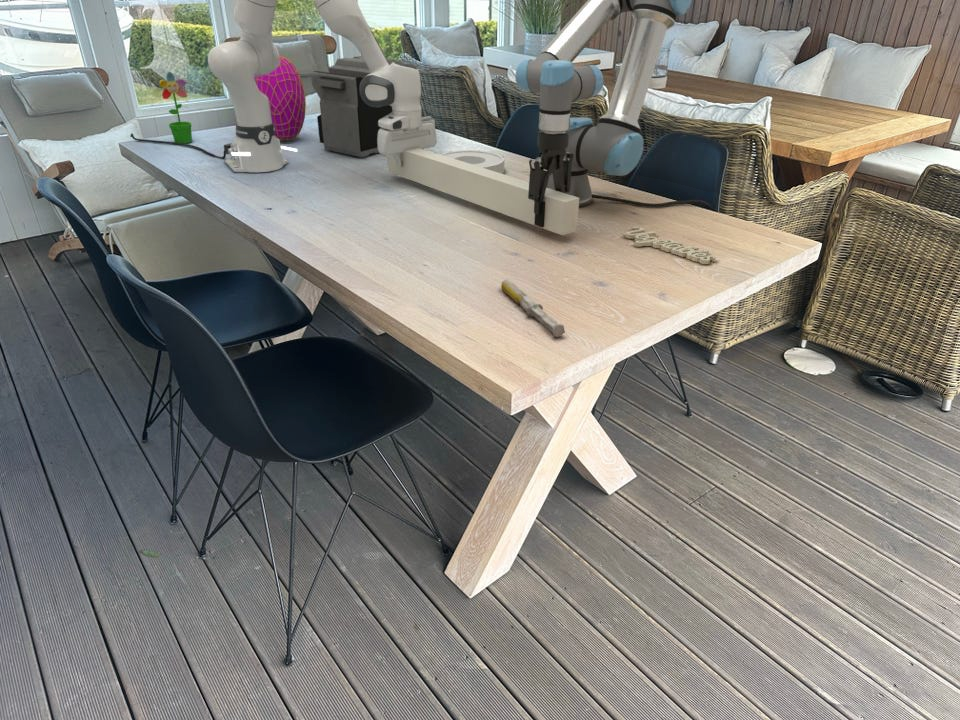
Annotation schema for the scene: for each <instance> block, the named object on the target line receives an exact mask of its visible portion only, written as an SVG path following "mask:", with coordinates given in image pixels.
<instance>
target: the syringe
mask: <svg viewBox="0 0 960 720" xmlns="http://www.w3.org/2000/svg"><path fill="white" fill-rule="evenodd" d="M500 287H501V290H502V291H503V292H504V293H505V294H506V295H507V296H508V297H510V298H511V299H512V300H513V301H514V302H515V303H516V304H517V305H518V306H520V308H521V309H523V311H524V312H525V314H526V316H527V317H528V318H531V317H532V318H533V317H534V318H535V319H536V320H537V321H538V322H540V323H541V324H542V325H543V326H544V327H546V329H547V330H548V331H549V332H550V333H552V334H553V337H554V338H559V337H561V336H563V334H565V333H566V330H565V325H564V324H562V323H558V322H557V321H556V320H555V319H554V318H553V317H552V316H550V315H549V314H548V313H546V312H545V311H544V307H543V305H542V304H541V303H537V302H535V301H534V299H532V298H531V297H530V296H528V294H526V293H525V292H524V291H523V290H521V289H520V288H519V287H517V286H516V284H515V283H514V282H513V281H512V280H511V279H504V280H502V281H501V285H500Z"/></svg>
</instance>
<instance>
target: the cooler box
mask: <svg viewBox="0 0 960 720" xmlns="http://www.w3.org/2000/svg"><path fill="white" fill-rule="evenodd" d="M387 60H388V61H389V63H390V64H392V63H393V62H394V61H395V60H394V59H393V58H387ZM369 74H371V73H370V70H369V68H368V66H367V65H366V63H365V61H364V59H363V57H362V56H361V55H356V56H353V57H350V58H349V57H343V58H342V57H341V58H337V59H336V60H335V63H334V64H333V65H330V66H329V67H328V72H327V71H320V70H314V71H313V70H312V71H310V79H311V87H313V90H314V91H315V93H316V94H317V96H318V98H319V110H320V111H319V112H320V114H319V115H317V116H316V119H317V128H318V138H319V143H320V144H323V146H324V149H325V150H327V151H330V152H335V153H340V154H344V155H348V156H353V157H357V158H362V159H363V158H366V157H367V158H368V157H369V155H371V154H375V155H377V154H381V153H380V152H379V151H378V144H377V138H378V131H379V129H380V128H381V127H379V125H378V121H379V120H380V119H381V118H383V117H385V116H387V115H388V114H390V113H392V106H390V105H387V106H382V107H371V106H369V105H367V104H366V103H365V102H364V101H363V100H362V98H361V96H360V92H359V86H360V83H361V81H362V79H363V78H364V77H365V76H367V75H369Z"/></svg>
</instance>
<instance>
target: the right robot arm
mask: <svg viewBox="0 0 960 720" xmlns="http://www.w3.org/2000/svg"><path fill="white" fill-rule="evenodd" d="M691 4H692V0H587V1H586V2H584V4H583V5H582V6H581V7H580V8H579V10H577V12H576V13H575V14H574V15H573V16H572V17H571V18H570V20H569V21H568V22H567V23H566V24H565V25H564V26H563V27H562V29H561V30H560V31H559V32H558V33H556V35H555V36H554V37H553V39H551V41H550V42H549V43H548V44H547V45H546V46H545V48H544V49H543V50H542V51H541V52H540V53H539V54H538V55H537V56H536V57H535V59H532V58H529V59H523V60H522V61H520V62H519V63H518V65H517V67H516V69H515V83H516V86H517V87H518V89H520V90H521V91H524V92H528V93H531V94H539V108H538V123H537V125H538V127H537V128H538V129H539V131H537V142H536V146H537V147H538V154H537V157H536V158H534V159H532V158H531V159H529V160H528V163H529V180H528V182H529V192H528V199H531V200H534V213H535V223H534V225H533V226H535V225H537V226H536V227H538V226H539V227H538V228H541V227H544V218H545V202H544V201H543V199H544V195H545V191H546V188H549V189H552V190H556V191H559V192H562V193H565V194H569V195H572V196H575V197H578V198H579V208H580V207H584V206H588V205H589V204H591V203H592V199H598V200H604V201H611V202H617V203H624V204H629V205H633V206H639V207H649V208H662V207H663V208H664V207H669V206H674V205H691V204H700V205H703V206H705V207H706V208H707V209H710V210H711V209H713V207H712V205H711V204H710V203H708V202H707V201H705V200H702V199H689V200H688V199H687V200H674V201H667V202H660V203H652V202H650V203H649V202H642V201H641V202H640V201H635V200H631V199H625V198H618V197H612V196H607V195H599V194H593V193H592V188H591V184H590V179H589V171H593V172H597V173H598V172H599V173H601V174H606V175H609V176H618V177H623V176H627V175H629V174H630V173H631V172H632V171H634V169H635V168H636V167H637V165H638V164H639V162H640V160H641V158H642V155H643V152H644V144H645V142H644V138H643V136H642V135H641V134H640V133H641V130H642V128H641V127H640V124H639V118H640V115H641V111H642V108H643V106H644V102H645V99H646V96H647V93H648V89H649V87H650V84H651V80H652V77H653V74H654V71H655V68H656V65H657V62H658V59H659V56H660V52H661V49H662V46H663V43H664V41H665V37H666V33H667V31H668V30H669V29H671V28H673V27H674V26H675V25H676V22H677V18H678V17H679V16H680V17H681V16H684V15H685V14H687V12H688V11H689V9H690V7H691ZM628 12H631V17H632V18H633V20H634V24H633V27H632V31H631V33H630V37H629V39H628V43H627V47H626V49H625V52H624V56H623V60H622V63H621V65H620V68H619V69H620V70H619V73H618V75H617V78H616V82H615V85H614V89H613V93H612V95H611V98H610V100H609V101H610V102H609V104H608V108H607V111H606V113H604V114H603V115H602V116H600V117H599V118H598V121H597V125H593V124H594V122H593V119H592V118H590V117H571V110H572V109H571V108H572V102H576V101H582V100H588V99H591V98H594V97H596V96H597V95H599V94H600V92H601V91H602V89H603V86H604V75H603V72H602V71H601V69H600V68H599V67H598V66H597V65H593V64H583V65H575V64H574V63H573V62H574V61H575V59H577V57H578V56H579V55H580V54H581V53H582V52H583V50H584V49H585V48H586V47H587V46H588V45H589V44H590V42H591V41H592V40H593V39H594V38H595V37H596V36H597V35H598V33H600V31H601V30H602V29H603V27H605V26H606V24H607V23H608V22H611V21H614V20H615V19H616V18H618V16H619V15H620V14H623V13H628Z"/></svg>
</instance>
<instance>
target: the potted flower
mask: <svg viewBox="0 0 960 720" xmlns="http://www.w3.org/2000/svg"><path fill="white" fill-rule="evenodd" d="M165 78H166V79H161V80H159V84H158V85H159V87H160V88H162V89H163V90H162V93H161V97H162V99H164V100H167V99H169V98H171V96H173V101H174V106H175V108H171V109H170V110H168V113H169V114H171V115H176V116H177V120H178V121H174V122H170V123H168V126H169V129H170V130H171V134H172V138H173V142H176V143H183V144H189V143H192V142H193V134H192V122H191V121H181V117H180V113H179V109H181V108H182V106H183V104H182V103H178V102H177V98H176V97H177V96H179V97H180V98H187V97H188V93H187V91H186V90H185V89H183V87H185V86H186V85H187V84H188V82H187V81H186V80H185V79H183V78H177V79H176V77H175V74H174V73H173V72H172V71H167V73H166V76H165Z"/></svg>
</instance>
